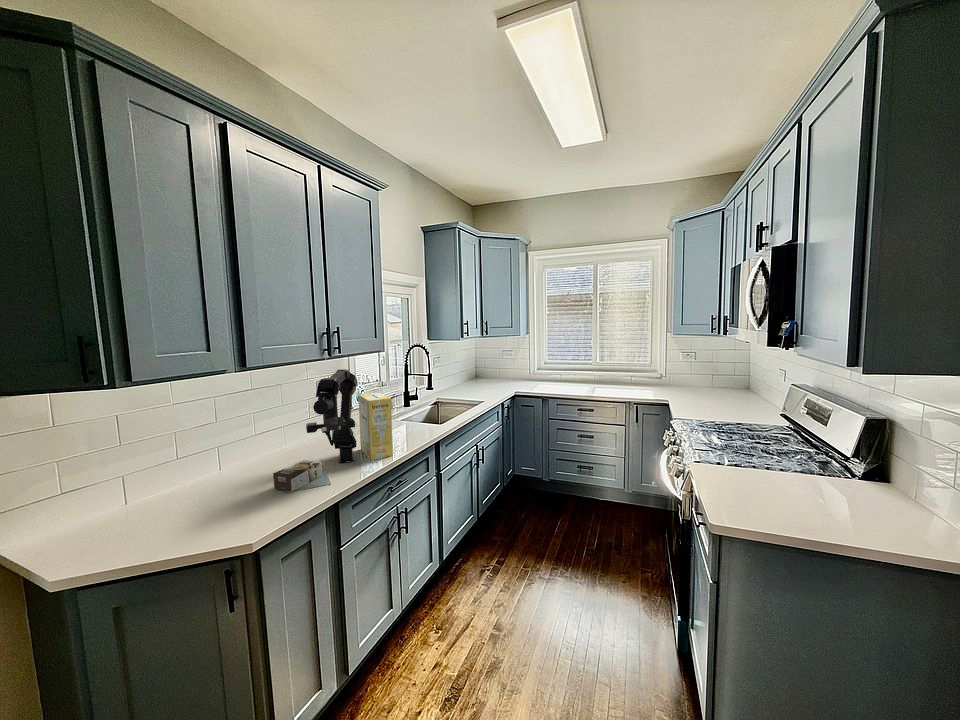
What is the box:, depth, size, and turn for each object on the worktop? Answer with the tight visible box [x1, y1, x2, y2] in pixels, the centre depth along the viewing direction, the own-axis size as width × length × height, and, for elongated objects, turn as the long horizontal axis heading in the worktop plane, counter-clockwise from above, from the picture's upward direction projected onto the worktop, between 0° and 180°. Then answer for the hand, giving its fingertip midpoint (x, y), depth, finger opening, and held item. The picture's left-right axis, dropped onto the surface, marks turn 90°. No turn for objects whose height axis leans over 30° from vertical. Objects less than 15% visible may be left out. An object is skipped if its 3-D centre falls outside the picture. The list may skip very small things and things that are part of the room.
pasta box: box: [358, 392, 394, 461], centre depth 194 cm, size 18×10×28 cm, turn 31°
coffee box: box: [272, 459, 323, 493], centre depth 158 cm, size 9×6×16 cm
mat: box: [285, 468, 332, 494], centre depth 162 cm, size 18×16×1 cm
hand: (331, 445), depth 166 cm, fingers closed
